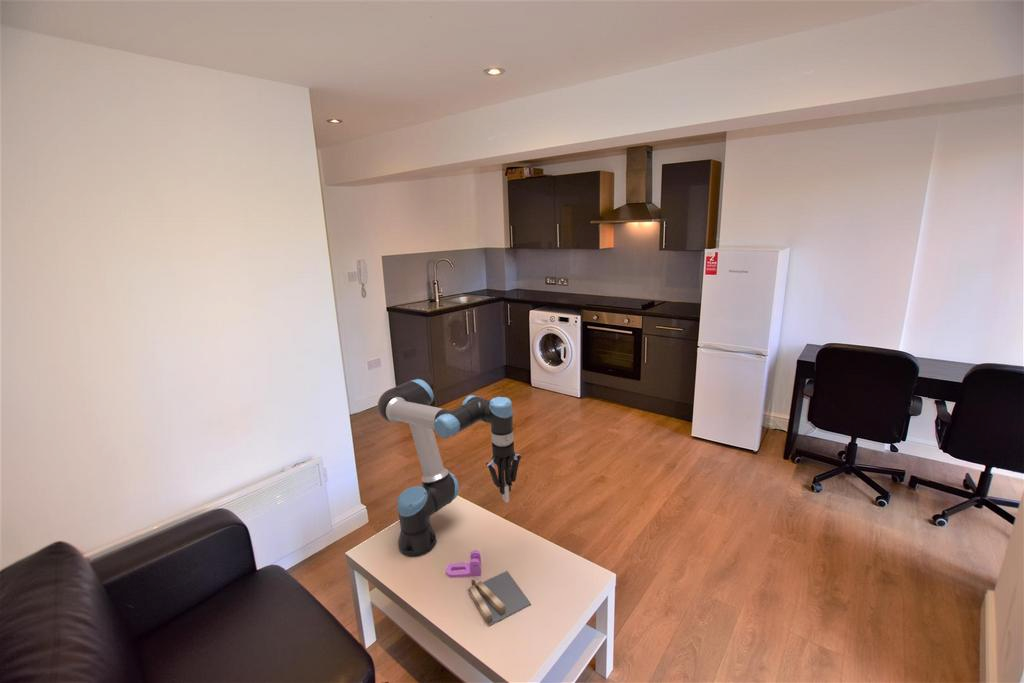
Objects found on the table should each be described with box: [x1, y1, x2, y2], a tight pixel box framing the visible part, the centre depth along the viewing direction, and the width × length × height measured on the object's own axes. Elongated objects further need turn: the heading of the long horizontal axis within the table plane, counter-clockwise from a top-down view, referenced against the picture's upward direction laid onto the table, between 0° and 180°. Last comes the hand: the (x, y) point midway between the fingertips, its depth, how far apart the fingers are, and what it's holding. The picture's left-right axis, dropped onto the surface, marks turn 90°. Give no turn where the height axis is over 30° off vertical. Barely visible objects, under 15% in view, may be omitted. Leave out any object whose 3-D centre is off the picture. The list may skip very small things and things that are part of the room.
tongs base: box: [468, 579, 492, 623], centre depth 155 cm, size 16×3×3 cm, turn 29°
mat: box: [467, 570, 532, 627], centre depth 159 cm, size 17×16×1 cm
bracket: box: [445, 549, 482, 579], centre depth 170 cm, size 13×6×7 cm, turn 91°
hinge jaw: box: [476, 580, 506, 614], centre depth 157 cm, size 14×2×2 cm, turn 40°
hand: (505, 500), depth 163 cm, fingers closed
